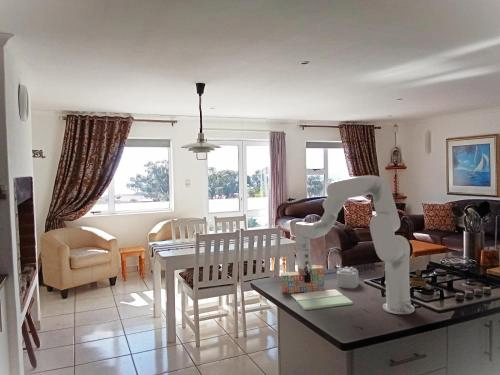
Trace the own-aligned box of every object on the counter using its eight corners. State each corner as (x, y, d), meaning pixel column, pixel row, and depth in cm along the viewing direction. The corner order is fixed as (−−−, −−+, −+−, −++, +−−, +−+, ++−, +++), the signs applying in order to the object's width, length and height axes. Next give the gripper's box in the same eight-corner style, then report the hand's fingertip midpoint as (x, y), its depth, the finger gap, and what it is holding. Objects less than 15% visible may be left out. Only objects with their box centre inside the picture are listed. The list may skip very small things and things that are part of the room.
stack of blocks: (282, 293, 189) (281, 269, 189) (281, 290, 196) (280, 266, 195) (324, 291, 189) (323, 267, 189) (322, 288, 195) (321, 264, 195)
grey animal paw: (335, 286, 196) (334, 270, 196) (341, 280, 207) (341, 264, 207) (355, 288, 191) (354, 272, 191) (360, 281, 202) (360, 265, 202)
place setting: (395, 287, 191) (394, 276, 190) (416, 279, 202) (416, 268, 202) (429, 295, 176) (428, 283, 176) (449, 286, 188) (449, 274, 188)
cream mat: (343, 296, 180) (342, 294, 180) (296, 302, 176) (296, 300, 176) (335, 291, 189) (335, 289, 189) (291, 296, 185) (291, 294, 185)
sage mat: (353, 304, 170) (352, 301, 170) (304, 310, 165) (304, 307, 165) (344, 297, 179) (344, 295, 179) (297, 303, 174) (297, 301, 174)
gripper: (316, 249, 183) (317, 283, 184) (304, 242, 200) (305, 274, 201) (301, 250, 182) (302, 285, 182) (290, 244, 199) (292, 276, 199)
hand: (304, 279), depth 192 cm, fingers open, 9 cm apart
